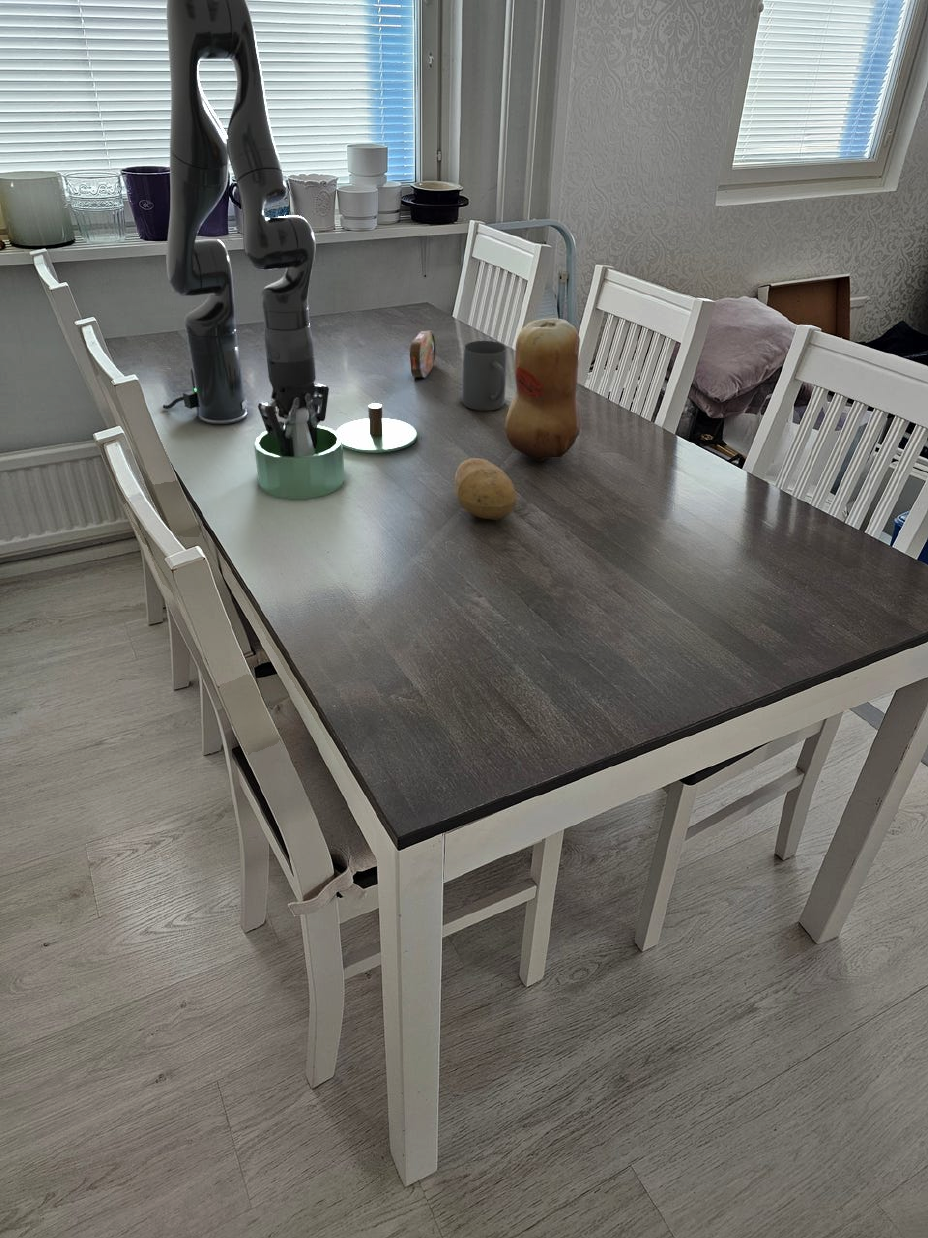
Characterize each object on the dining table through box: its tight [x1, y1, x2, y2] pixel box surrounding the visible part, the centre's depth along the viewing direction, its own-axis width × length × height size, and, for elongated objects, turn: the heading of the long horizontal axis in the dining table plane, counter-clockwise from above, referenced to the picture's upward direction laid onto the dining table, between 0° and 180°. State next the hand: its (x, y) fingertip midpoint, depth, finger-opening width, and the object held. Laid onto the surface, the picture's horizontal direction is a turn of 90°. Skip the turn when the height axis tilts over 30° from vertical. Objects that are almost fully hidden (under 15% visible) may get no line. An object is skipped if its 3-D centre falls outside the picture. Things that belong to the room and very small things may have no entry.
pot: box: [253, 425, 345, 500], centre depth 148 cm, size 15×15×7 cm
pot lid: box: [335, 403, 418, 454], centre depth 164 cm, size 16×16×7 cm
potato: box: [454, 457, 517, 521], centre depth 139 cm, size 10×14×8 cm
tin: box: [409, 330, 436, 379], centre depth 196 cm, size 15×3×8 cm, turn 168°
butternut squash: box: [504, 317, 581, 462], centre depth 153 cm, size 14×13×25 cm
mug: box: [461, 340, 508, 412], centre depth 178 cm, size 14×9×12 cm
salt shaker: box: [283, 407, 315, 457], centre depth 146 cm, size 6×6×13 cm
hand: (299, 451), depth 147 cm, fingers open, 4 cm apart
